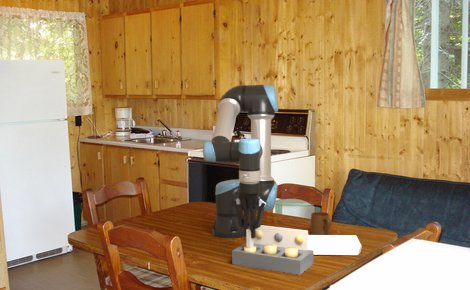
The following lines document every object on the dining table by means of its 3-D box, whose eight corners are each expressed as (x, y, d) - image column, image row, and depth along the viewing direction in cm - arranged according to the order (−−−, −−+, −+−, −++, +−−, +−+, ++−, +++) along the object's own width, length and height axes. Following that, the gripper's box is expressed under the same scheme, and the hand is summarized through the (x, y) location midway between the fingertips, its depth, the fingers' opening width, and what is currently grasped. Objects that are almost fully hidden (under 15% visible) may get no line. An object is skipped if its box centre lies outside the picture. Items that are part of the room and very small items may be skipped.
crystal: (299, 247, 200) (364, 248, 199) (298, 233, 206) (361, 234, 204) (298, 261, 204) (362, 261, 203) (297, 247, 210) (359, 247, 209)
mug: (337, 239, 224) (338, 217, 223) (322, 241, 222) (322, 218, 221) (323, 232, 235) (323, 211, 235) (307, 234, 233) (307, 212, 232)
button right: (283, 260, 186) (283, 249, 186) (287, 257, 190) (287, 246, 189) (295, 262, 184) (294, 251, 183) (299, 259, 188) (299, 247, 187)
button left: (242, 258, 194) (241, 247, 193) (247, 255, 197) (247, 244, 197) (253, 260, 192) (252, 249, 191) (258, 257, 195) (258, 246, 195)
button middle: (262, 257, 190) (262, 246, 189) (267, 254, 194) (267, 243, 193) (273, 259, 188) (273, 248, 187) (278, 256, 192) (278, 245, 191)
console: (232, 264, 193) (231, 231, 192) (248, 254, 204) (248, 223, 203) (300, 275, 181) (300, 240, 180) (313, 264, 192) (313, 231, 191)
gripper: (228, 182, 191) (229, 247, 194) (261, 184, 185) (262, 251, 188) (238, 179, 198) (238, 241, 200) (270, 181, 192) (270, 246, 194)
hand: (250, 246), depth 194 cm, fingers closed
